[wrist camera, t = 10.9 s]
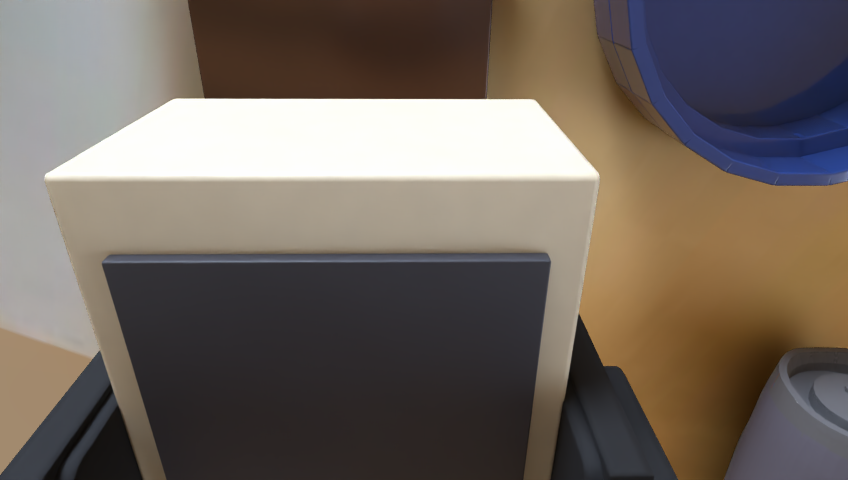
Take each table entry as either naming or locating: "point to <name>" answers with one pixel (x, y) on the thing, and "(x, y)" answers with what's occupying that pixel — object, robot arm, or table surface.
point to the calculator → (334, 285)
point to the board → (342, 48)
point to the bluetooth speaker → (798, 421)
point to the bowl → (739, 81)
